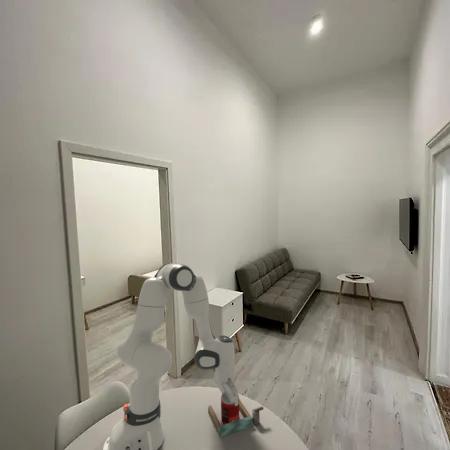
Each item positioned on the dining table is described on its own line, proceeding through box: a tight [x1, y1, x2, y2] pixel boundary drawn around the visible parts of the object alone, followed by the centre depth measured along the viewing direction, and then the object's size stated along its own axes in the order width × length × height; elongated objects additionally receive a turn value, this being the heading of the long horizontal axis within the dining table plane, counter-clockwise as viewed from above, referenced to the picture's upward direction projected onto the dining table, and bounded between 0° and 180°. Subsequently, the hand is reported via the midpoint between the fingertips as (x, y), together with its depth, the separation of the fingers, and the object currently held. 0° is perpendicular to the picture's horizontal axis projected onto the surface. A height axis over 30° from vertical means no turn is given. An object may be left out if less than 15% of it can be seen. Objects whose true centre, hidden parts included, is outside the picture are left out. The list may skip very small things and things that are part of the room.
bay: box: [207, 398, 264, 438], centre depth 113 cm, size 20×15×6 cm
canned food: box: [220, 392, 240, 425], centre depth 110 cm, size 8×8×11 cm
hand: (226, 403), depth 116 cm, fingers closed
